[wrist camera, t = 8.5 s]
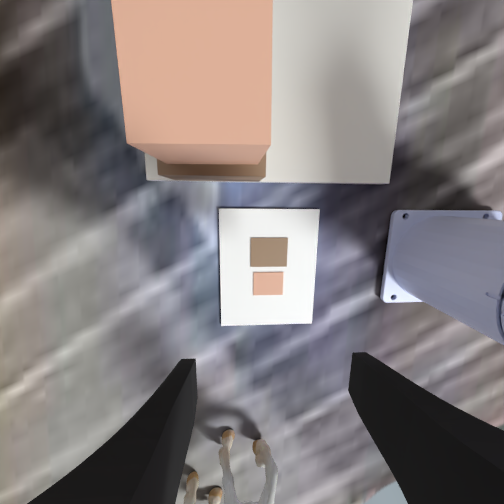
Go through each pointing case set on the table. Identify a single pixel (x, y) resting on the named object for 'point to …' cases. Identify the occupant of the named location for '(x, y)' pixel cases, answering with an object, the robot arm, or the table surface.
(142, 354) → the table surface
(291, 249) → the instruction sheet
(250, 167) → the walnut block
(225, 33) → the terracotta block
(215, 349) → the table surface
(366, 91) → the base plate
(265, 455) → the unicorn figurine
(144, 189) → the table surface
